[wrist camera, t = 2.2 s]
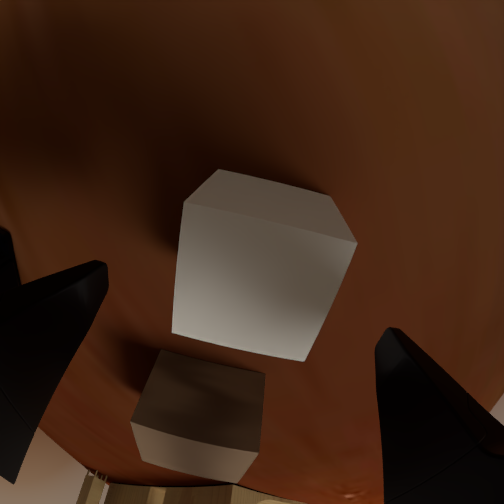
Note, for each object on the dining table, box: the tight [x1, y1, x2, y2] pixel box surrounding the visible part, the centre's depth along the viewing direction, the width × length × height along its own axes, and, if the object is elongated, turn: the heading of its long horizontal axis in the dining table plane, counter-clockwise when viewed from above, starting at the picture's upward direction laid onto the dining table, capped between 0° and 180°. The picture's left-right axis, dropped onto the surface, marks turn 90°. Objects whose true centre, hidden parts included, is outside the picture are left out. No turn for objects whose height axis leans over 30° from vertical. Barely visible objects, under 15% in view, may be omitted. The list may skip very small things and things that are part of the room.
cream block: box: [172, 169, 357, 362], centre depth 11 cm, size 5×5×5 cm
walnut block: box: [130, 349, 265, 483], centre depth 17 cm, size 7×7×6 cm
